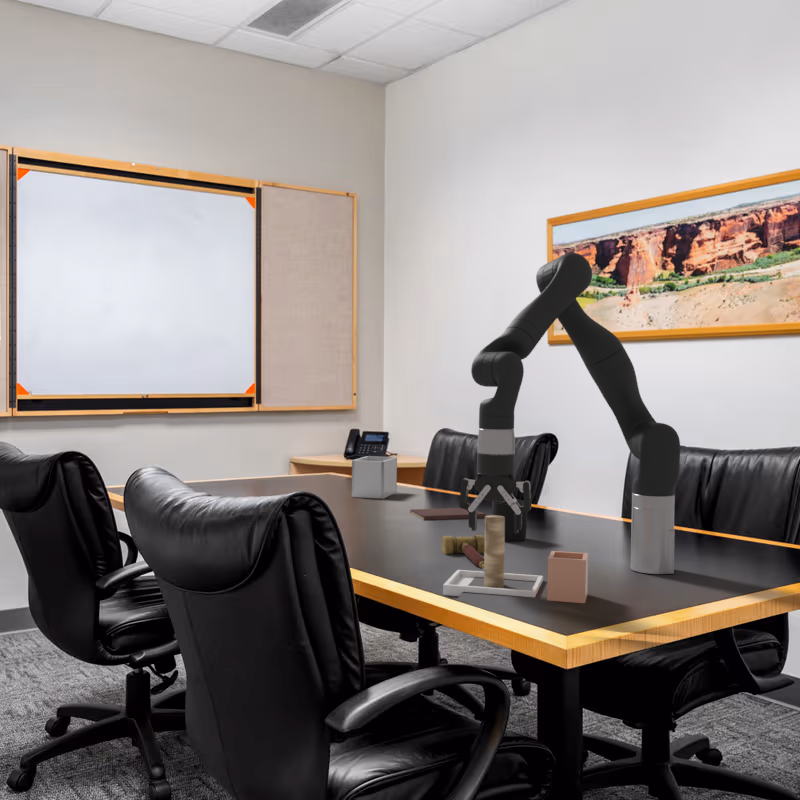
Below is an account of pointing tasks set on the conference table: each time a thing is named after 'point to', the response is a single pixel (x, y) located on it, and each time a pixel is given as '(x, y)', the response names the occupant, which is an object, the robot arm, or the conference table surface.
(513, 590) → the tray
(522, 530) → the pen holder
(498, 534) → the dowel pin
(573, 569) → the pink open-ended box
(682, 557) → the conference table surface
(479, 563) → the gavel
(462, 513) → the notebook
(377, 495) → the gray open-top cube
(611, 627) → the conference table surface
